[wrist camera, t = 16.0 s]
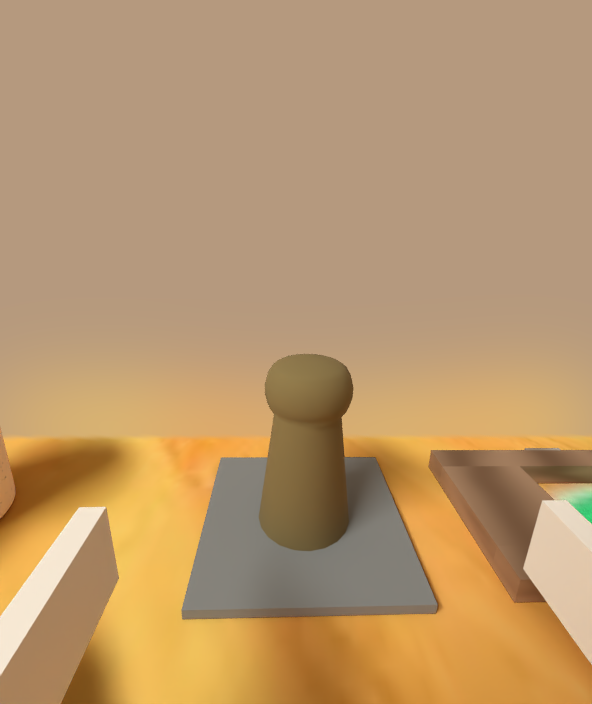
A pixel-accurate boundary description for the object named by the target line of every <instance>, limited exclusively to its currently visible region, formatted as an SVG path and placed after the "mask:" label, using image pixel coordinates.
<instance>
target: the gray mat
mask: <svg viewBox="0 0 592 704" xmlns="http://www.w3.org/2000/svg"><path fill="white" fill-rule="evenodd" d="M344 460H345V473H346V487H347V501H348V515H349V524H348V527H347V530H346V533H345V534H344V535H343V536H342V537H341V538H340V539H339V540H338V542H336V543H334V544H332V545H330V546H328V547H327V548H324V549H319V550H314V551H298V550H292V549H289V548H286V547H283V546H280V545H278V544H277V543H276V542H274V541H273V540H271V539H270V538H268V536H267V535H266V534H265V532H264V531H263V529H262V528H261V525H260V521H259V511H260V504H261V498H262V491H263V485H264V478H265V471H266V465H267V458H221V460H220V464H219V468H218V471H217V475H216V479H215V483H214V487H213V491H212V495H211V498H210V502H209V506H208V510H207V514H206V518H205V522H204V526H203V529H202V533H201V537H200V541H199V545H198V549H197V553H196V556H195V560H194V564H193V568H192V572H191V576H190V580H189V584H188V587H187V591H186V595H185V599H184V603H183V607H182V619H211V618H254V617H298V616H342V615H385V614H429V613H436V611H437V606H438V604H437V602H436V600H435V597H434V595H433V592H432V590H431V588H430V585H429V583H428V581H427V578H426V576H425V574H424V571H423V569H422V566H421V564H420V562H419V559H418V557H417V555H416V552H415V550H414V548H413V545H412V543H411V540H410V538H409V536H408V533H407V531H406V529H405V526H404V524H403V522H402V519H401V517H400V514H399V512H398V510H397V507H396V505H395V503H394V500H393V498H392V496H391V493H390V491H389V488H388V486H387V484H386V481H385V479H384V477H383V474H382V472H381V469H380V467H379V465H378V462H377V460H376V458H375V457H344Z"/></svg>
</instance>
